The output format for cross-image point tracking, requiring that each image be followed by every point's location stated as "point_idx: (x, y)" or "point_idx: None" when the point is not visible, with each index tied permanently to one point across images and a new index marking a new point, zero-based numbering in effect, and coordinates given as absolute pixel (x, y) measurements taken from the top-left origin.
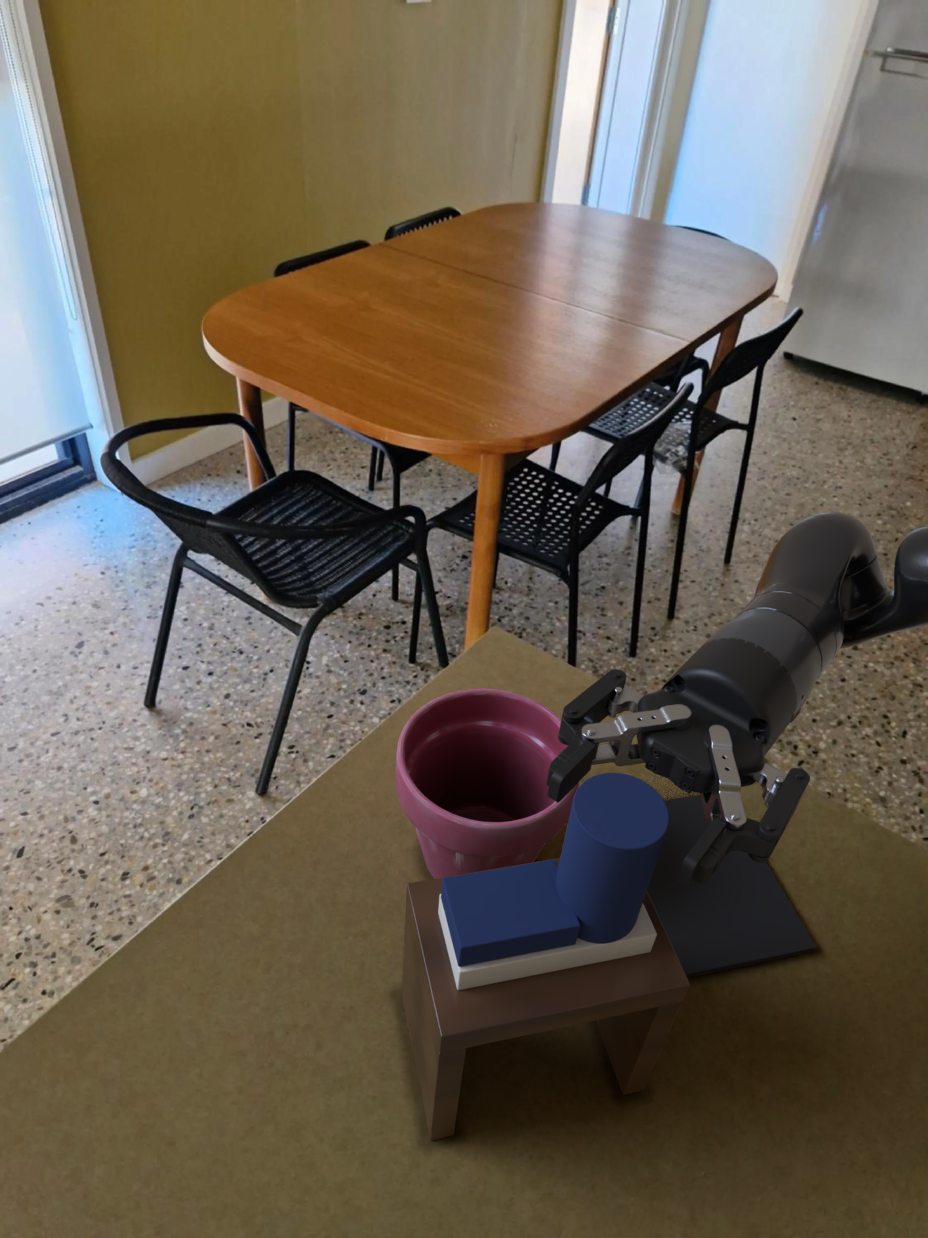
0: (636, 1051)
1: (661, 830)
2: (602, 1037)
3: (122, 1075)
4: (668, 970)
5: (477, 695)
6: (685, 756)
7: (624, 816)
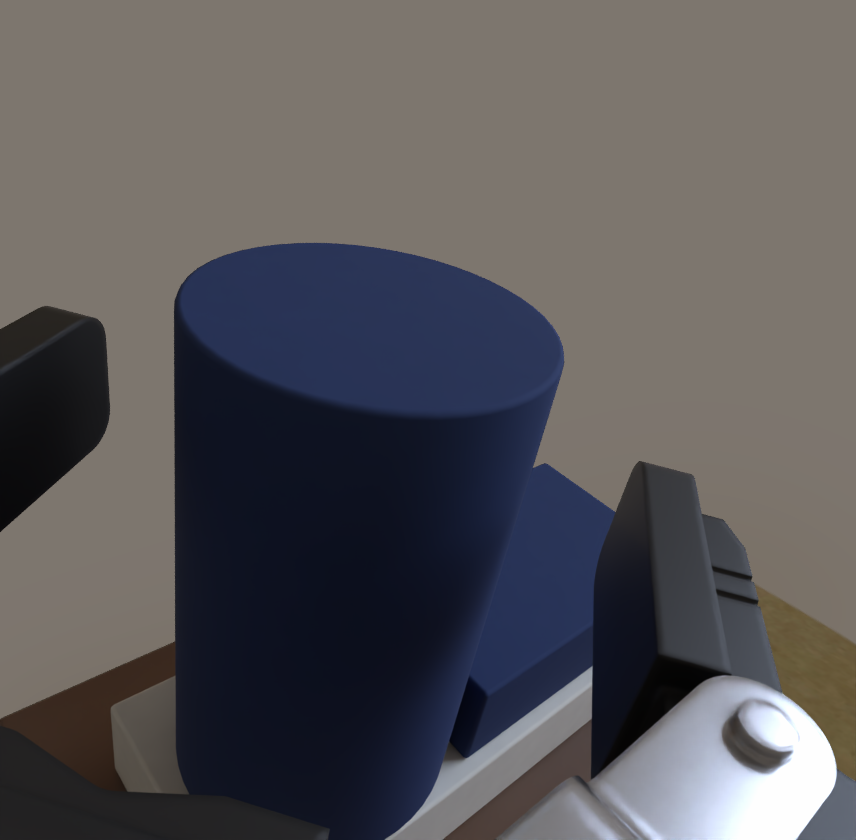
0: None
1: (206, 275)
2: None
3: (785, 685)
4: (61, 733)
5: None
6: (5, 811)
7: (356, 292)
